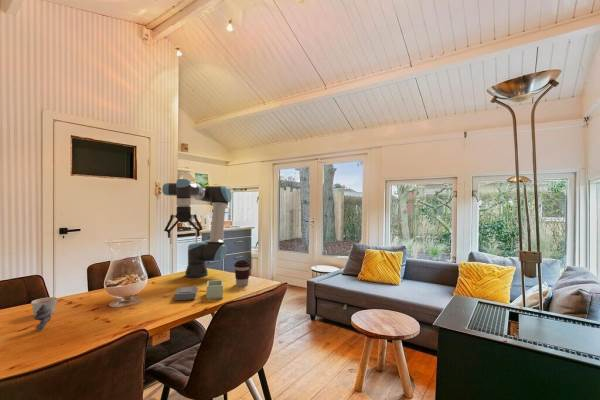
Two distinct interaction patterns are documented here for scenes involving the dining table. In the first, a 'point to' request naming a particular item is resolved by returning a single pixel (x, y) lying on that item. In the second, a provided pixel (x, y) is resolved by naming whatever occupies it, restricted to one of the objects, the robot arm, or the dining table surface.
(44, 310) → the seashell
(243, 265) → the coffee cup
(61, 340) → the dining table surface
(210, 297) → the box
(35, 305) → the grey bowl
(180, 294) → the lid
